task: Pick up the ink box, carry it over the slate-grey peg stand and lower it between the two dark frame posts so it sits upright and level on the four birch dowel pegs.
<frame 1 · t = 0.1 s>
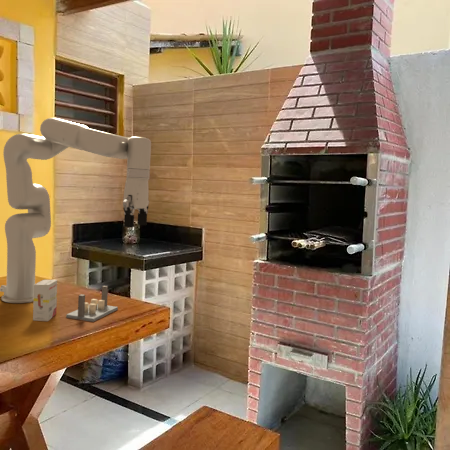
hand: (135, 225, 155), 31 cm above the table, fingers open, 9 cm apart
peg stand: (92, 313, 158), on the table
ink box: (44, 317, 151), on the table
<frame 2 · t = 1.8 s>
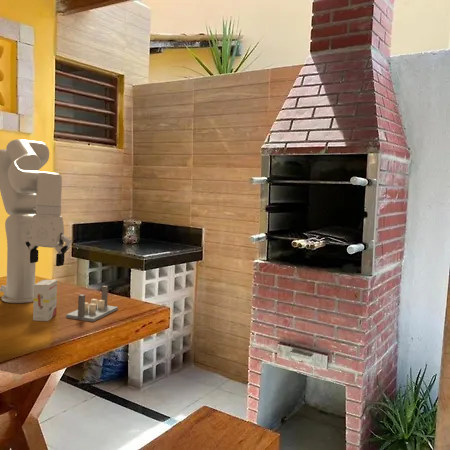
hand: (46, 264, 149), 18 cm above the table, fingers open, 9 cm apart
nothing on the table moved.
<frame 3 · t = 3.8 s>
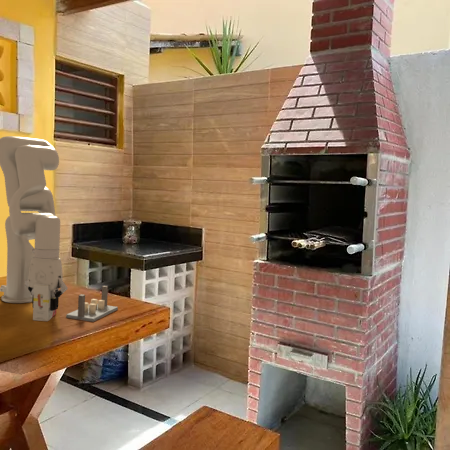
hand: (45, 307, 150), 3 cm above the table, fingers closed on ink box, 6 cm apart
ink box: (44, 317, 151), on the table, touching gripper
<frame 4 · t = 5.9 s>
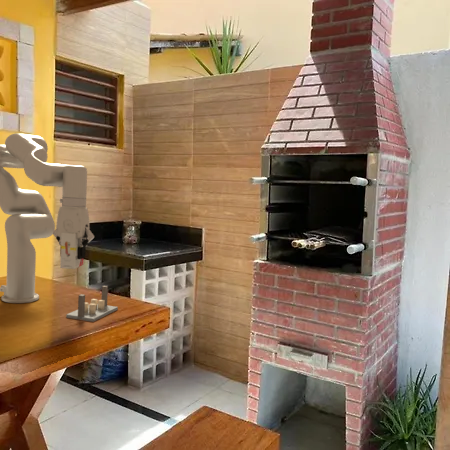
hand: (72, 257, 152), 20 cm above the table, fingers closed on ink box, 5 cm apart
ink box: (71, 267, 153), point 16 cm above the table, touching gripper
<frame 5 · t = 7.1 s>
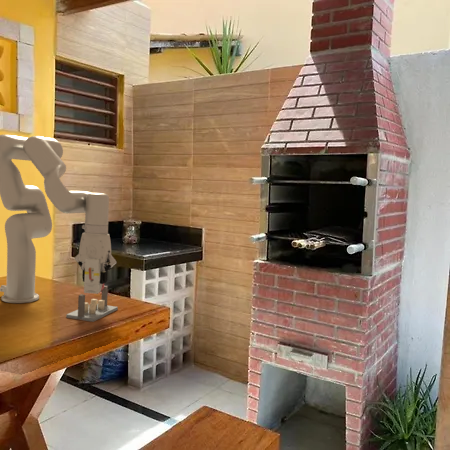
hand: (94, 281, 157), 11 cm above the table, fingers closed on ink box, 5 cm apart
ink box: (94, 291, 157), point 8 cm above the table, touching gripper
when the fingers open (8 cm above the table, at t = 8.3 s): ink box stays where it is, resting on peg stand.
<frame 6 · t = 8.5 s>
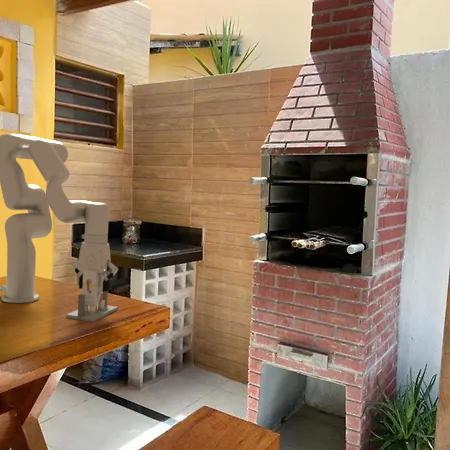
hand: (93, 289, 157), 8 cm above the table, fingers open, 8 cm apart
ink box: (92, 302, 158), point 4 cm above the table, touching peg stand
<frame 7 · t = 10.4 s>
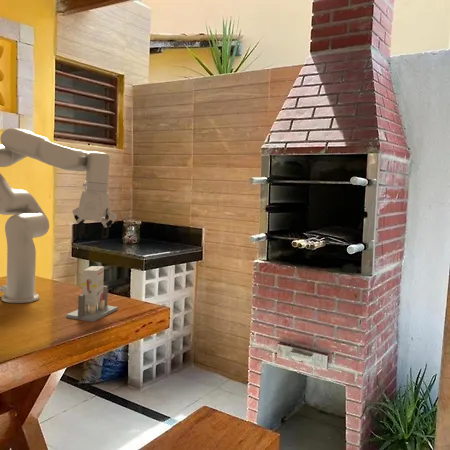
hand: (92, 236, 162), 26 cm above the table, fingers open, 9 cm apart
nothing on the table moved.
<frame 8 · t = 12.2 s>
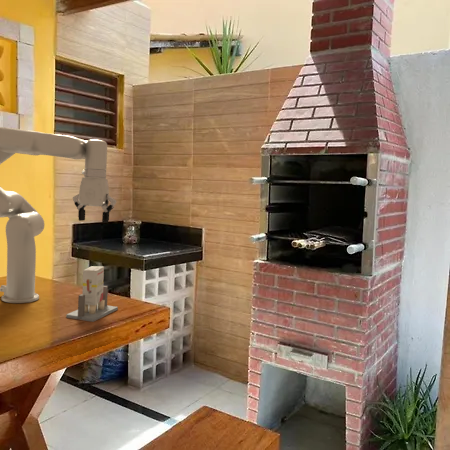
hand: (93, 221, 168), 30 cm above the table, fingers open, 9 cm apart
nothing on the table moved.
at the end: ink box 0.3 cm from the peg stand (horizontally); ink box tilted 0°; ink box touching peg stand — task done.
